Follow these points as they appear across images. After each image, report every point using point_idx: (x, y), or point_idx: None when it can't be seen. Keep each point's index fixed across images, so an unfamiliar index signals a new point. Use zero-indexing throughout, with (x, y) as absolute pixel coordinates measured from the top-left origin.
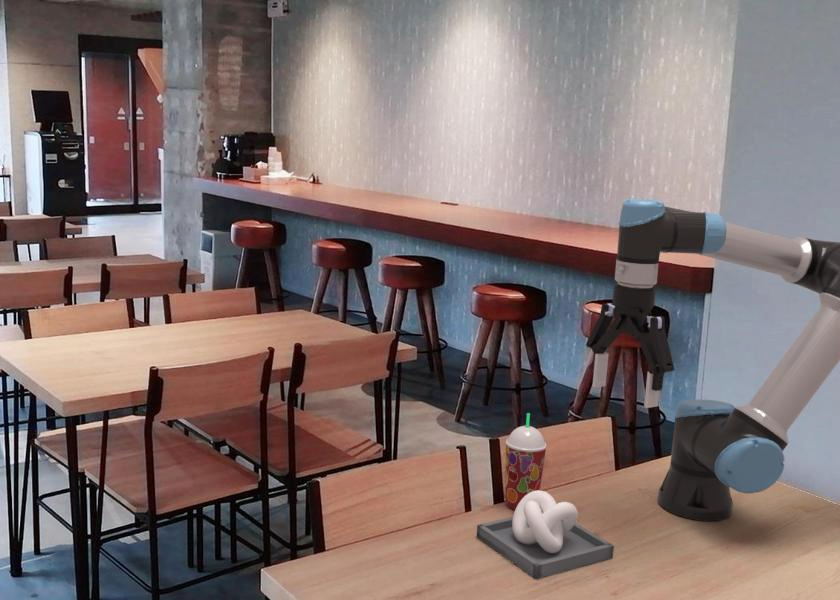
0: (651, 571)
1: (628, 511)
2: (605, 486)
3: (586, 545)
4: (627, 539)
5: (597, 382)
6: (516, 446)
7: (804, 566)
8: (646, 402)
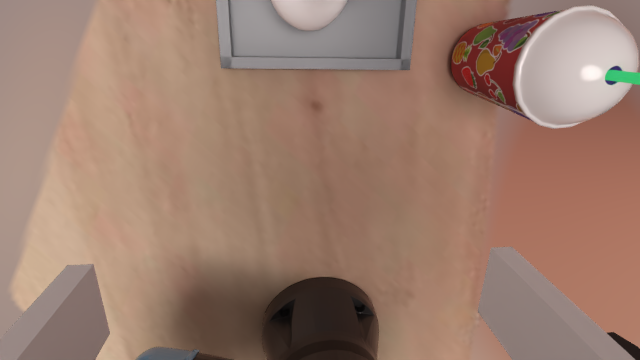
0: (156, 95)
1: (356, 223)
2: (448, 254)
3: (269, 40)
4: (273, 146)
5: (504, 277)
6: (570, 14)
7: None
8: (60, 284)
